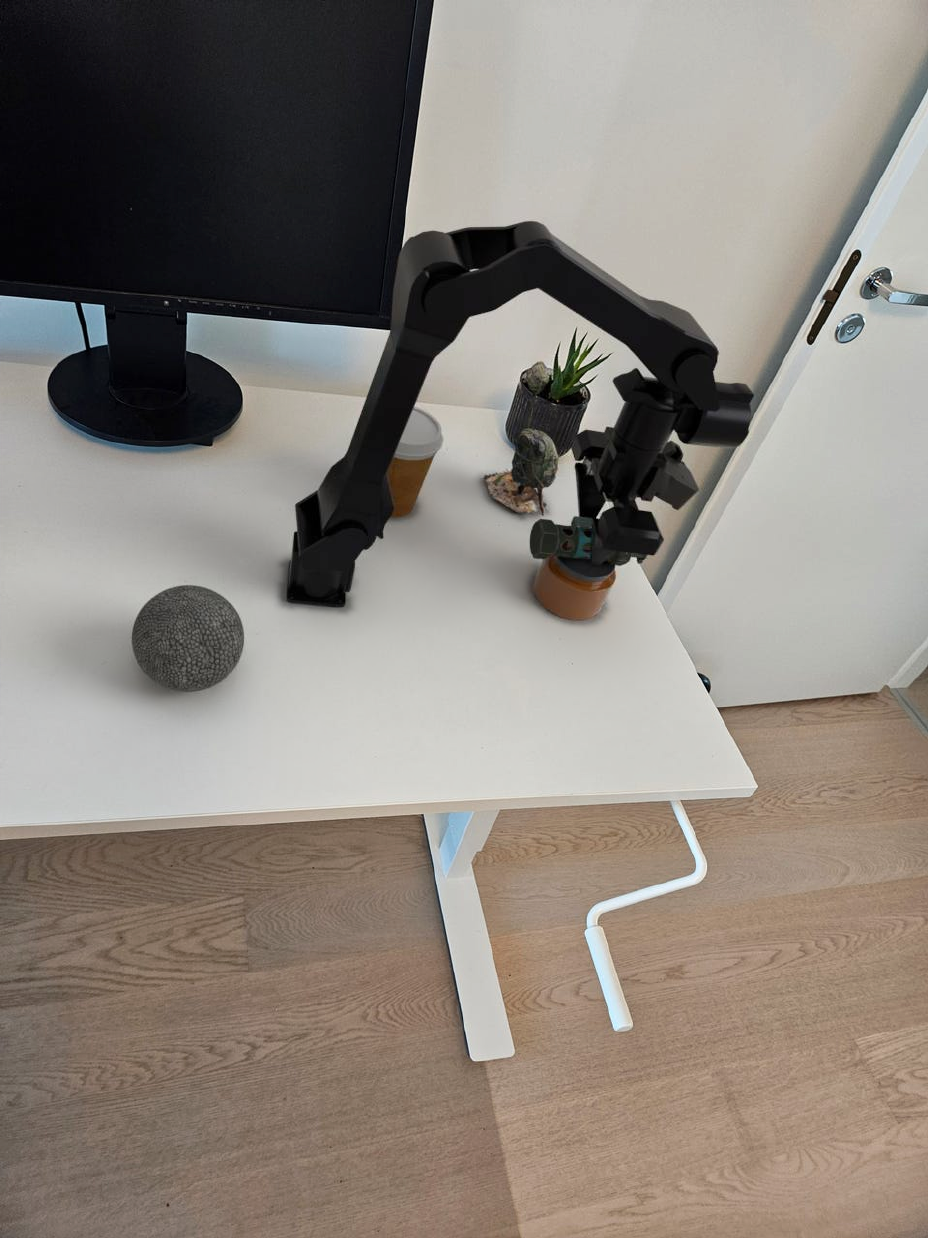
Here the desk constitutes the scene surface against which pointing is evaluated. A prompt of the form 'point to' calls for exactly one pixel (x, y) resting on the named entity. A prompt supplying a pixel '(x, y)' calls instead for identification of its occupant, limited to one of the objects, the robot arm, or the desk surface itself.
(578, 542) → the stun grenade
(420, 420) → the disposable coffee cup
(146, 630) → the decorative ball
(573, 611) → the jar
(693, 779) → the desk surface
